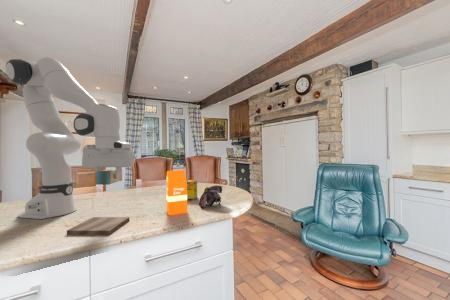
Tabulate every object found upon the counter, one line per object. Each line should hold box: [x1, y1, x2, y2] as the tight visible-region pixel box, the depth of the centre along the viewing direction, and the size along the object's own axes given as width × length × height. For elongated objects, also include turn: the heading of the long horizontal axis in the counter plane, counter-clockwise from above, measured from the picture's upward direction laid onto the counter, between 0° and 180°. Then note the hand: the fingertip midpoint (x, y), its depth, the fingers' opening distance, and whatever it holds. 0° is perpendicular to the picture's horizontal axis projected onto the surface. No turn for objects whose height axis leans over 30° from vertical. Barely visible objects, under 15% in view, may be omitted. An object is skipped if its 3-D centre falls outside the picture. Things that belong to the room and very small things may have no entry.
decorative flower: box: [198, 185, 223, 210], centre depth 109 cm, size 14×12×15 cm
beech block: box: [95, 168, 123, 186], centre depth 85 cm, size 5×5×10 cm
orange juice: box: [165, 169, 188, 216], centre depth 100 cm, size 8×9×20 cm
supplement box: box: [186, 179, 198, 201], centre depth 124 cm, size 6×6×11 cm
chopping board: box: [66, 216, 130, 236], centre depth 81 cm, size 16×14×2 cm
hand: (108, 178), depth 84 cm, fingers closed on beech block, 5 cm apart
